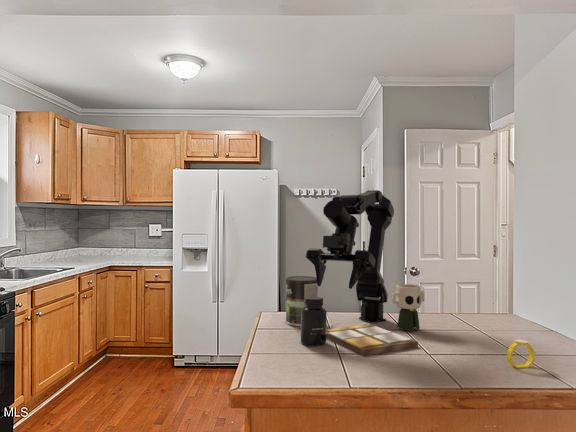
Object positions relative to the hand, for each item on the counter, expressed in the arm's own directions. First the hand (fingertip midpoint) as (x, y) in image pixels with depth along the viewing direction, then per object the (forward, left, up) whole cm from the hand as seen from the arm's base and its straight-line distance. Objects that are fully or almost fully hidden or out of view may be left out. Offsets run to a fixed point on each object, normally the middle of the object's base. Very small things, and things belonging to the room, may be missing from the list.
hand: (334, 287), depth 121 cm
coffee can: (-2, -23, -15) cm, 28 cm away
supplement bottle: (+6, -1, -15) cm, 16 cm away
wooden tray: (-8, +4, -15) cm, 17 cm away
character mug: (-26, -1, -15) cm, 30 cm away
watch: (-26, +36, -15) cm, 47 cm away
